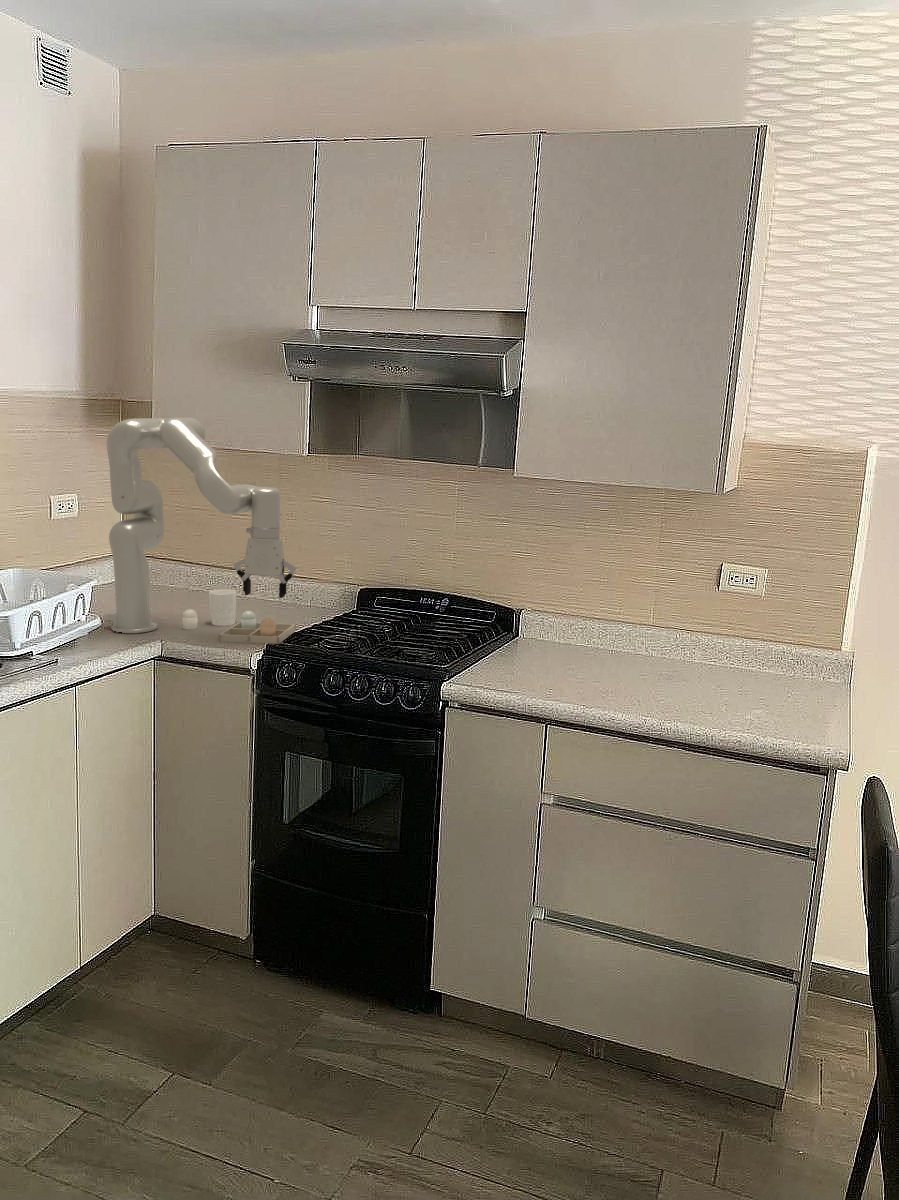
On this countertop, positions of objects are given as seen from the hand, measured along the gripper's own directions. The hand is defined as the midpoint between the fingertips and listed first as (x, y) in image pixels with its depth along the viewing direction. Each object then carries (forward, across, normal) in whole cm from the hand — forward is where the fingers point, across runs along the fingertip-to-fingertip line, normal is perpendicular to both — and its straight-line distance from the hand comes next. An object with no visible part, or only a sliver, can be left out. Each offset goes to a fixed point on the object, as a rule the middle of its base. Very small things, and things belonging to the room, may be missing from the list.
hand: (264, 595), depth 287 cm
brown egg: (+12, +1, 0) cm, 12 cm away
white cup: (+14, -18, +18) cm, 29 cm away
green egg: (+12, -7, +8) cm, 16 cm away
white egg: (+14, -25, +10) cm, 30 cm away
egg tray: (+13, -3, +4) cm, 14 cm away
